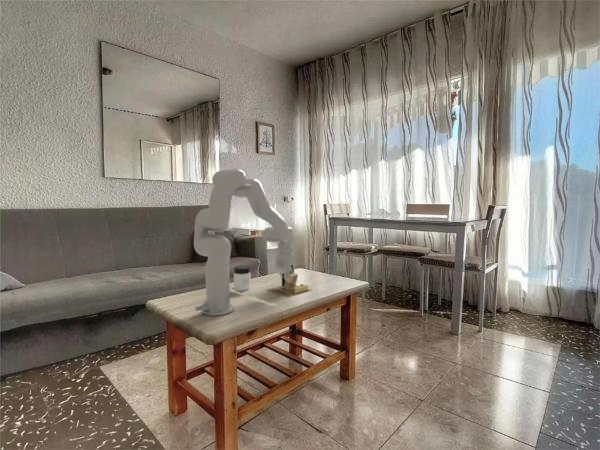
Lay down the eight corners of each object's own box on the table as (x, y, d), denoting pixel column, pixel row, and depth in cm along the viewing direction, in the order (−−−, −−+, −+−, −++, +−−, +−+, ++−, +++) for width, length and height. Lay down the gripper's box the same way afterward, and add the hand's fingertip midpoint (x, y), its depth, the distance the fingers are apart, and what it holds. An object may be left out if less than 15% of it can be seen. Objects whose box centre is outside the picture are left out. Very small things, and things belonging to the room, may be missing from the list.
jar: (237, 293, 153) (236, 269, 152) (231, 289, 160) (230, 266, 159) (253, 290, 158) (253, 267, 157) (247, 287, 165) (247, 264, 164)
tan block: (288, 290, 154) (291, 276, 152) (283, 286, 157) (287, 272, 154) (294, 288, 158) (298, 274, 155) (290, 284, 160) (293, 271, 157)
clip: (294, 294, 148) (294, 289, 148) (289, 292, 151) (289, 287, 150) (307, 290, 154) (307, 285, 154) (302, 288, 157) (302, 284, 157)
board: (288, 299, 143) (287, 297, 143) (265, 292, 155) (265, 289, 155) (313, 292, 155) (313, 289, 155) (290, 285, 167) (290, 283, 167)
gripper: (269, 250, 161) (270, 284, 162) (289, 253, 150) (289, 290, 151) (280, 248, 166) (281, 282, 167) (300, 251, 155) (300, 287, 157)
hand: (285, 286), depth 159 cm, fingers closed
